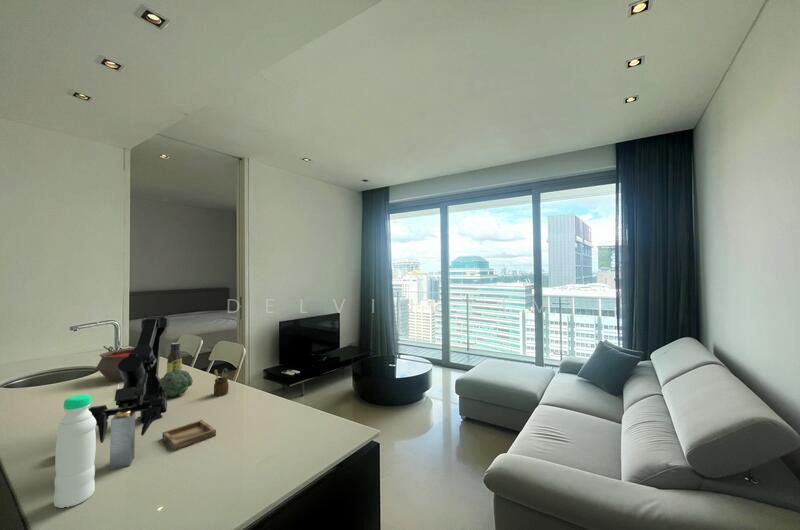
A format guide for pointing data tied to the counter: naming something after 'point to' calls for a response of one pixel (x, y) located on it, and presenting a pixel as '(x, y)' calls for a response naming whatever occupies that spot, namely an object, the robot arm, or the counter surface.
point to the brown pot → (112, 363)
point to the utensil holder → (220, 385)
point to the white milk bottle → (75, 453)
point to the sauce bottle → (174, 358)
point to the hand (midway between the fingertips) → (122, 438)
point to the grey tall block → (122, 439)
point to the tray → (188, 434)
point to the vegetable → (176, 382)
